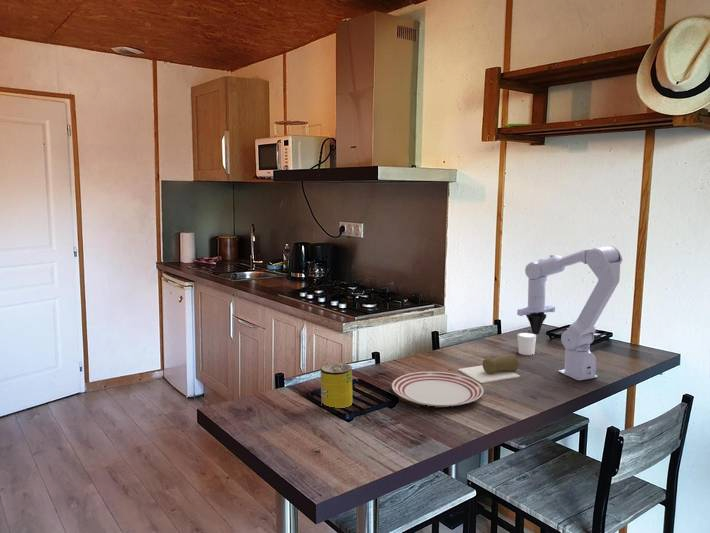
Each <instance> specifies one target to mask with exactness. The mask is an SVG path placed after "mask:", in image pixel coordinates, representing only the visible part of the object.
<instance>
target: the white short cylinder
mask: <svg viewBox="0 0 710 533" xmlns="http://www.w3.org/2000/svg"><path fill="white" fill-rule="evenodd" d="M536 340H537V334H533V333H530V332H519V333H517V345H518V346H517V347H518V354H520V355H523V356H532V354H533V355H535V350H536V343H537V341H536Z"/></svg>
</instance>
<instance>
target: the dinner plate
mask: <svg viewBox="0 0 710 533" xmlns="http://www.w3.org/2000/svg"><path fill="white" fill-rule="evenodd" d="M391 388H392V391H393V392H394V394H396V395H397V396H398V397H399V398H402V399H404V400H406V401H409V402H411V403H413V404H417V405H422V406H425V405H427V406H426V407H430V406H435V407H434V408H450V407H449V406H451V407H455V406H456V407H457V406H461V405H465V404H469V403H472V402H475V401H477V400H479V399H480V398H481V397H483V394H484V388H483V386H482V385H481V383H479V382H477V381H476V380H474V379H472V378H470V377H469V376H466V375H465V376H464V375H462V374H457V373H452V372H445V371H418V372H417V371H416V372H410V373H406V374H404V375H401V376H398V377H397V378H395V379H394V380H393V381H392V384H391Z"/></svg>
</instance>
